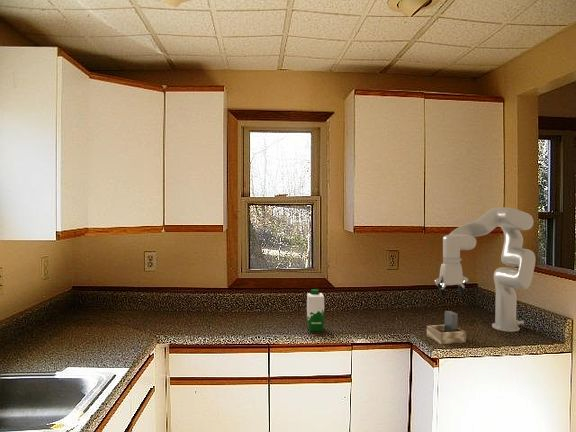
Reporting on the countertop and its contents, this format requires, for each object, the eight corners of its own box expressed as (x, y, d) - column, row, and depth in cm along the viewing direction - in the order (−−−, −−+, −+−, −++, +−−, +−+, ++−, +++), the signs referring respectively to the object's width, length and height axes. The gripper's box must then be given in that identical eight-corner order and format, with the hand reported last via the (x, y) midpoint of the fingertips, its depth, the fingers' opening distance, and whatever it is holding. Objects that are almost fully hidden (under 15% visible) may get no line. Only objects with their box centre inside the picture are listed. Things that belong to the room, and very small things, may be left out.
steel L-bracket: (449, 335, 195) (450, 310, 194) (457, 339, 189) (457, 314, 188) (435, 336, 193) (435, 311, 193) (442, 340, 187) (442, 315, 187)
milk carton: (322, 326, 211) (322, 288, 211) (325, 331, 202) (325, 292, 202) (306, 326, 210) (306, 289, 210) (308, 332, 201) (308, 292, 201)
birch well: (450, 334, 198) (450, 324, 198) (465, 342, 186) (466, 331, 186) (426, 335, 195) (426, 325, 195) (440, 344, 184) (440, 333, 184)
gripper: (462, 259, 196) (462, 293, 196) (430, 260, 192) (430, 296, 193) (472, 261, 188) (472, 297, 189) (439, 263, 185) (439, 299, 186)
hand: (451, 296), depth 191 cm, fingers open, 9 cm apart
